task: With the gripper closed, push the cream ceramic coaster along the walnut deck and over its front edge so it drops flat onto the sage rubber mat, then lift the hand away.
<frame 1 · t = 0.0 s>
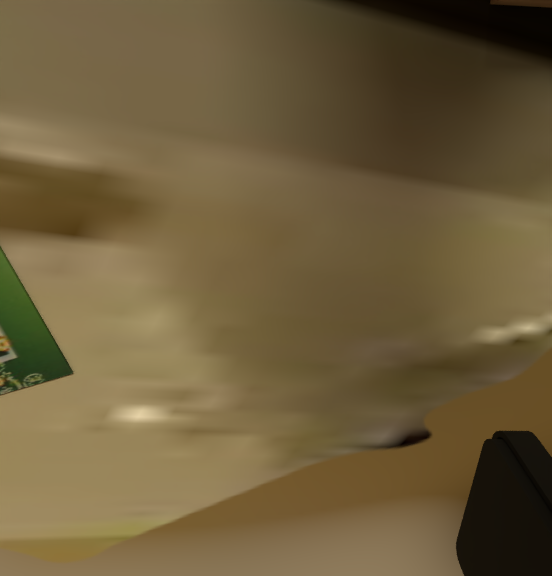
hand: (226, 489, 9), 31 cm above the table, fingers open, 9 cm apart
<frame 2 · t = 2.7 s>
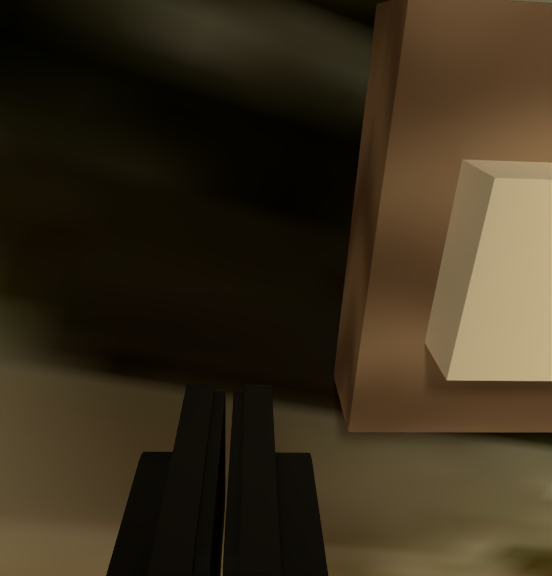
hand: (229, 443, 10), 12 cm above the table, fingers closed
coaster: (537, 261, 18), point 4 cm above the table, touching deck
deck: (534, 225, 22), on the table
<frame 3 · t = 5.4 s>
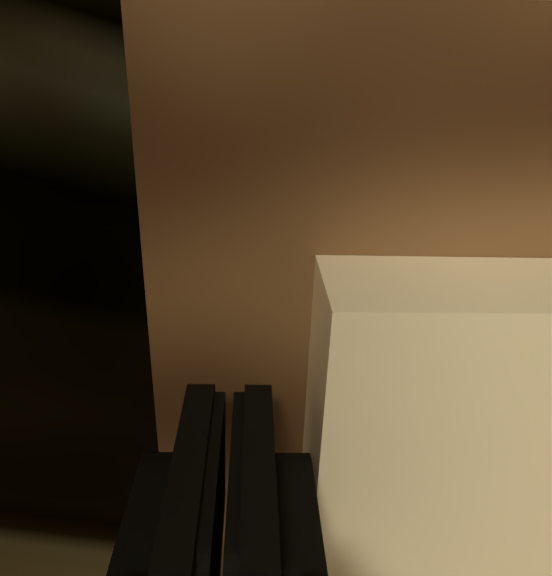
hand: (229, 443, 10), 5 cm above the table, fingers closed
coaster: (458, 400, 11), point 4 cm above the table
deck: (445, 318, 15), on the table
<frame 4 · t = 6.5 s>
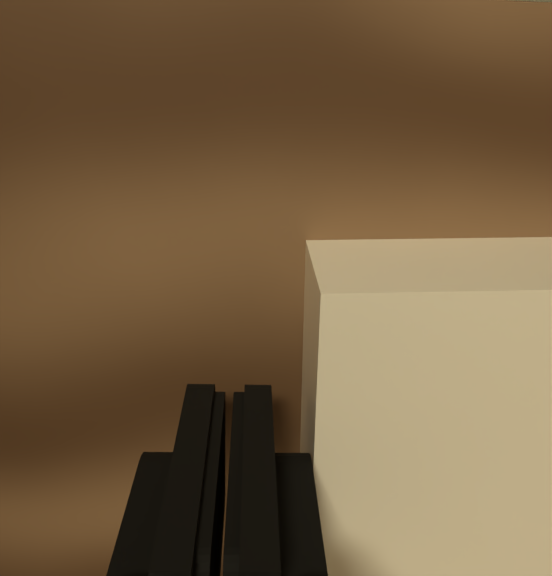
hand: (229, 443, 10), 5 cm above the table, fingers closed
coaster: (456, 385, 11), point 4 cm above the table, touching deck, gripper
deck: (231, 316, 15), on the table
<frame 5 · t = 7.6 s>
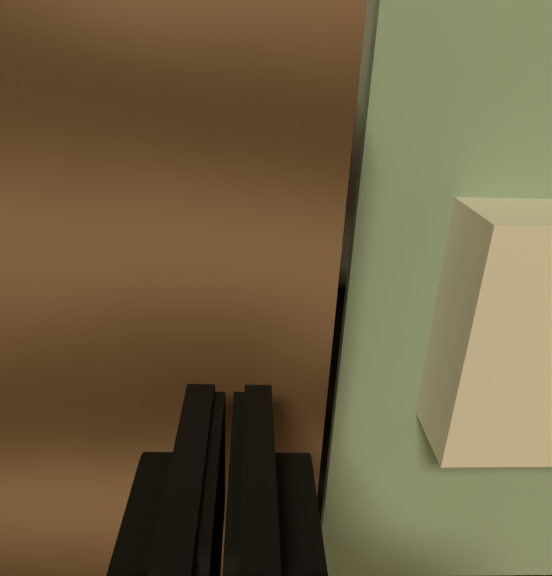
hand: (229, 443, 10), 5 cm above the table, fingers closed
deck: (34, 315, 15), on the table
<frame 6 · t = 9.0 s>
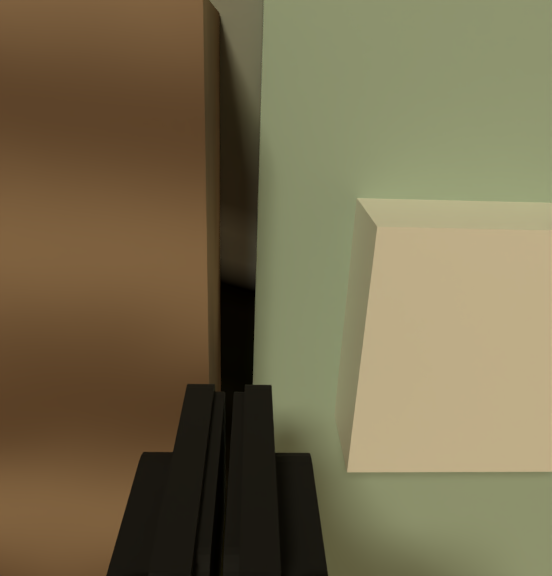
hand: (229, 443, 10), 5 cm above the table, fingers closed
coaster: (500, 365, 12), point 3 cm above the table, tilted 180°, touching mat
mat: (485, 326, 15), on the table
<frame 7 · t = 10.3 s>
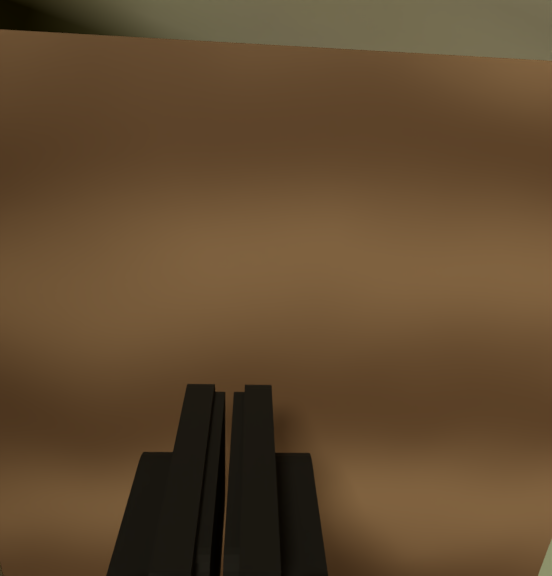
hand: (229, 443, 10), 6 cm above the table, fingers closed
deck: (282, 326, 16), on the table
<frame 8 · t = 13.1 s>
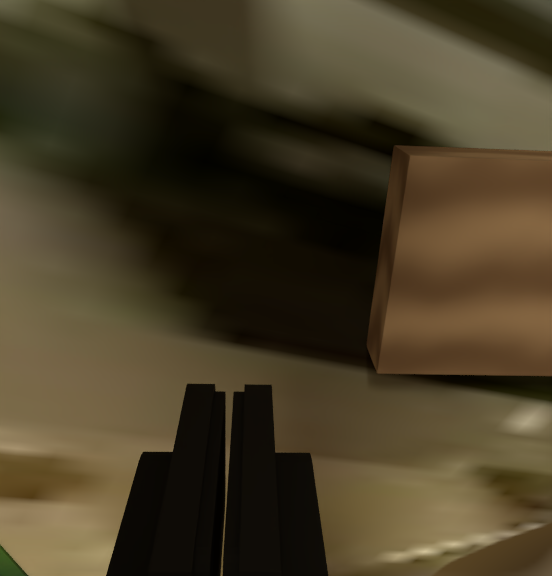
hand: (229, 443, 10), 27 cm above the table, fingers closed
deck: (482, 257, 38), on the table
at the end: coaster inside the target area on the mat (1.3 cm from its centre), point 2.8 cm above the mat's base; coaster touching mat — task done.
